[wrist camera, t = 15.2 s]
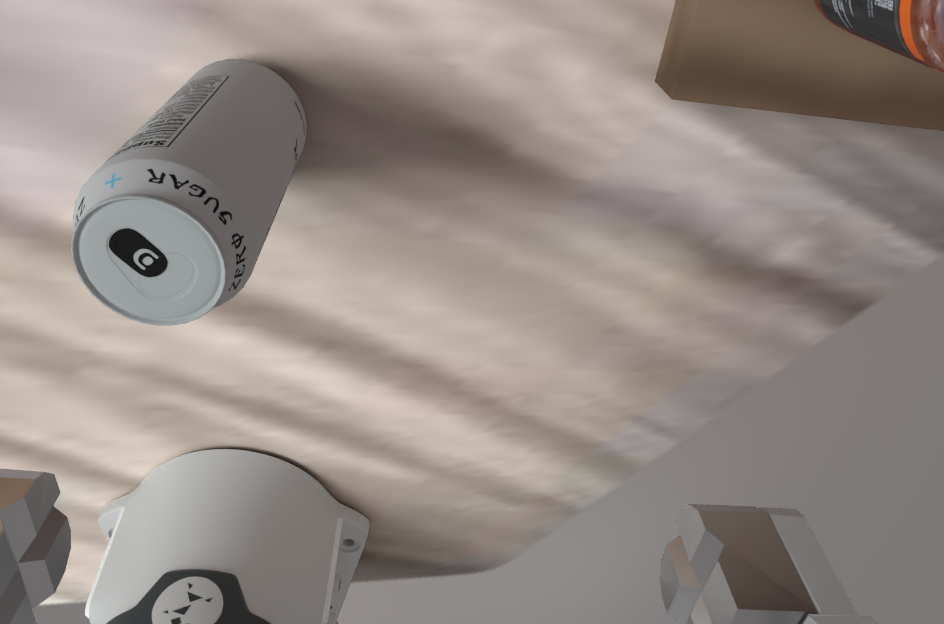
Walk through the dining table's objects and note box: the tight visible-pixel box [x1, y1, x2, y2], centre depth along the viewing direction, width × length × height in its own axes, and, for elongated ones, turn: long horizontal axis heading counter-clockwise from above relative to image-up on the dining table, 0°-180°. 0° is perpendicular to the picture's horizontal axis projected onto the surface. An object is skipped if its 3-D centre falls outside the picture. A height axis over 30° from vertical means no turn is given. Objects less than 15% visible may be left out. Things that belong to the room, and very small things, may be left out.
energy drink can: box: [71, 59, 307, 325], centre depth 29 cm, size 6×6×15 cm
